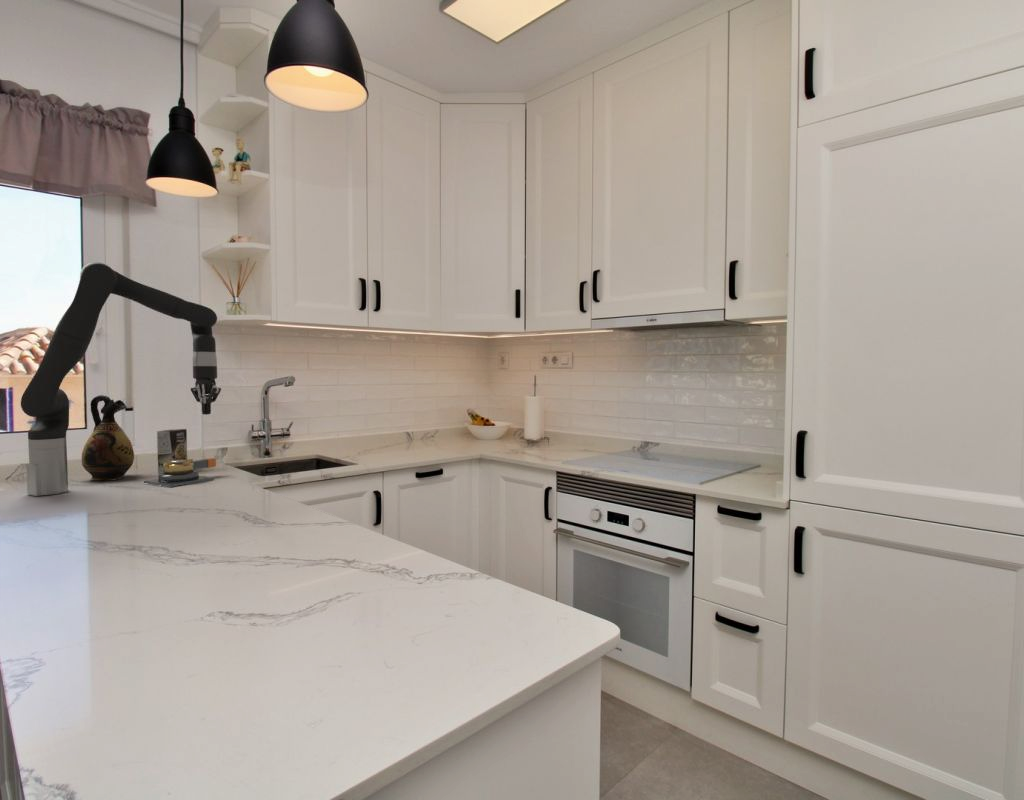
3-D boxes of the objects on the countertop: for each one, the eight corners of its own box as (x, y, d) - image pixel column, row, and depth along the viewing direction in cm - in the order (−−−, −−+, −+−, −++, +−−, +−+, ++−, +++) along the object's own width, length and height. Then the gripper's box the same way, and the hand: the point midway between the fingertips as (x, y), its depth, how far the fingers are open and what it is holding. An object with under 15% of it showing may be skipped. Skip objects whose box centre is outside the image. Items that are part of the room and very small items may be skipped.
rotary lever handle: (174, 475, 188) (173, 463, 188) (156, 473, 192) (156, 461, 192) (221, 467, 204) (221, 456, 203) (205, 466, 208) (204, 455, 208)
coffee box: (174, 473, 212) (172, 430, 211) (157, 473, 212) (155, 431, 211) (188, 469, 221) (187, 428, 220) (172, 469, 221) (171, 428, 220)
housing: (169, 487, 184) (169, 465, 184) (143, 483, 191) (142, 462, 191) (213, 480, 197) (212, 459, 197) (187, 476, 204) (186, 456, 204)
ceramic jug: (145, 475, 208) (142, 394, 207) (111, 483, 193) (108, 395, 192) (103, 474, 210) (100, 394, 209) (66, 482, 195) (63, 396, 194)
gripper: (227, 365, 198) (228, 414, 199) (201, 365, 204) (203, 413, 204) (208, 364, 192) (210, 415, 192) (182, 365, 197) (183, 414, 198)
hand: (206, 414), depth 198 cm, fingers closed
